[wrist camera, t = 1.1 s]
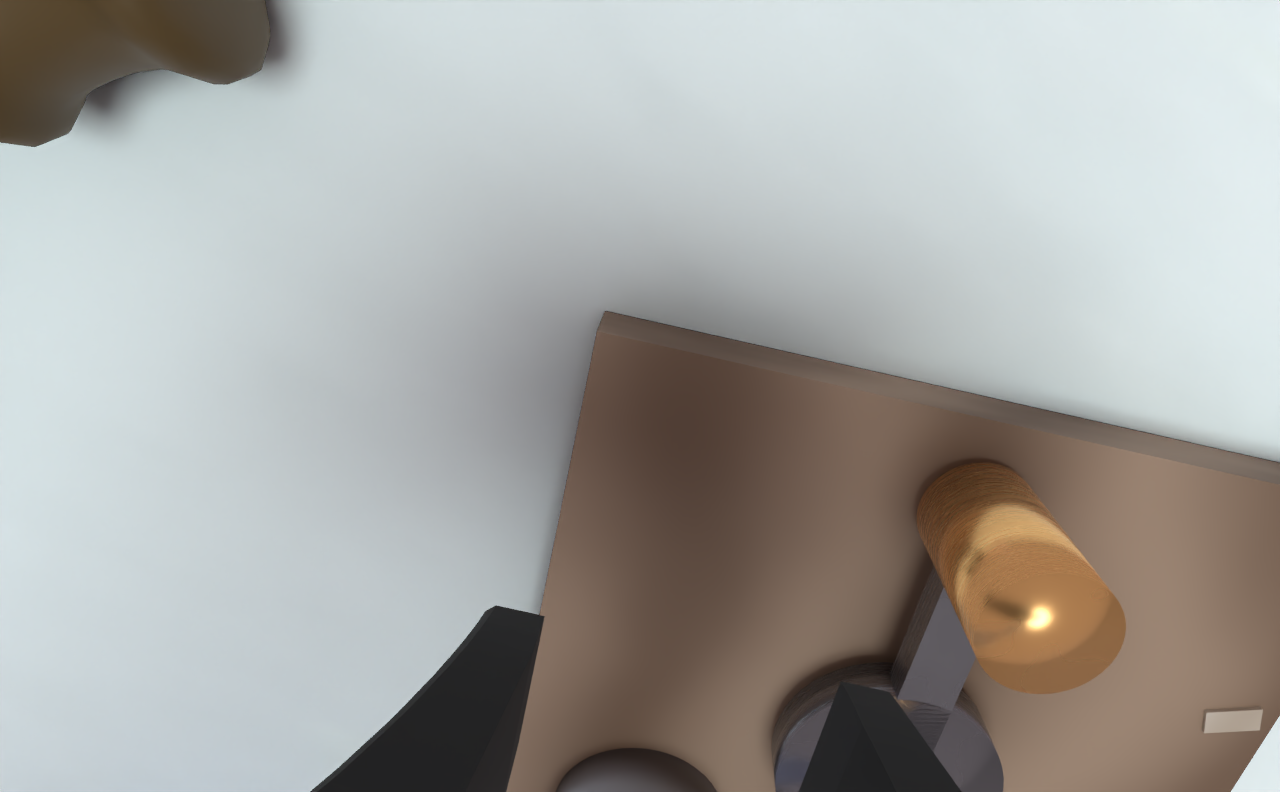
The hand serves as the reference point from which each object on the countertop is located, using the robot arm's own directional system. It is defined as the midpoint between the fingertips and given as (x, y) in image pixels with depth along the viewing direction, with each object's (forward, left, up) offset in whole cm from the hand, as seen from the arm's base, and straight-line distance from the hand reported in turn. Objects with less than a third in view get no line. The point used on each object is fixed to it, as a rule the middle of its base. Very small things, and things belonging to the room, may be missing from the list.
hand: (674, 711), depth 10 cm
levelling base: (+6, -6, -9) cm, 13 cm away
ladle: (+6, -4, -8) cm, 11 cm away
